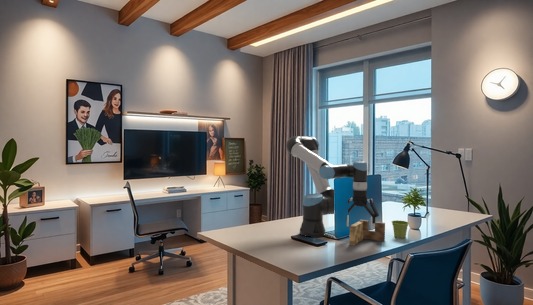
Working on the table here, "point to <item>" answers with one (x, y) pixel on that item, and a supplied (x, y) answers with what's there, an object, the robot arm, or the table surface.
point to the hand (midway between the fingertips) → (359, 227)
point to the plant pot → (400, 228)
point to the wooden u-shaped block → (374, 235)
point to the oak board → (356, 233)
